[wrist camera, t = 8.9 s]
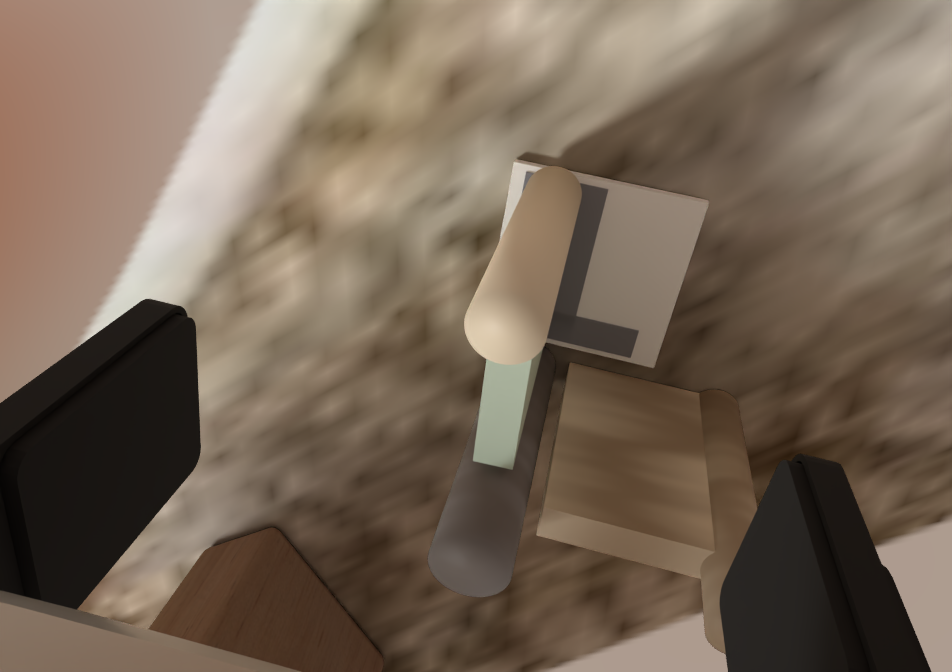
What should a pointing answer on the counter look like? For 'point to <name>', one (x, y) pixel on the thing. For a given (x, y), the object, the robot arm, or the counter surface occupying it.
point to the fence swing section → (520, 308)
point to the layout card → (619, 265)
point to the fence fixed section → (609, 485)
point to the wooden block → (266, 609)
